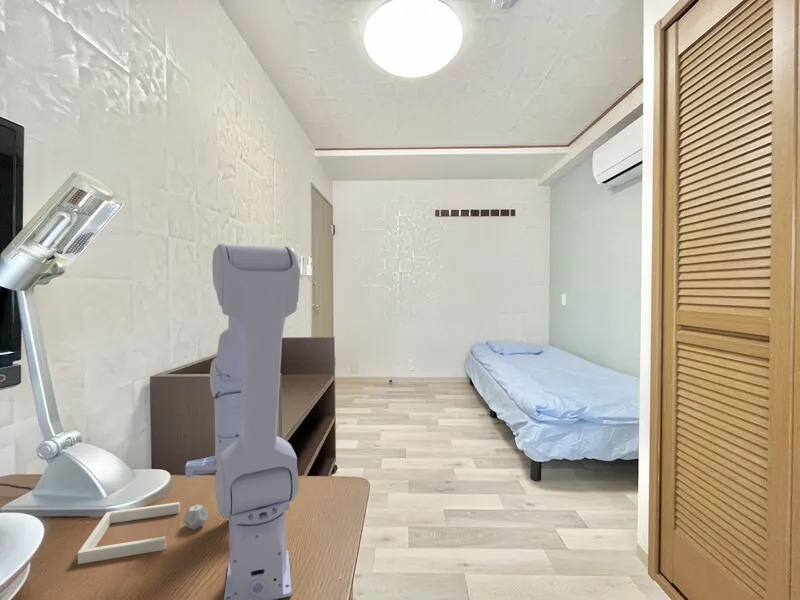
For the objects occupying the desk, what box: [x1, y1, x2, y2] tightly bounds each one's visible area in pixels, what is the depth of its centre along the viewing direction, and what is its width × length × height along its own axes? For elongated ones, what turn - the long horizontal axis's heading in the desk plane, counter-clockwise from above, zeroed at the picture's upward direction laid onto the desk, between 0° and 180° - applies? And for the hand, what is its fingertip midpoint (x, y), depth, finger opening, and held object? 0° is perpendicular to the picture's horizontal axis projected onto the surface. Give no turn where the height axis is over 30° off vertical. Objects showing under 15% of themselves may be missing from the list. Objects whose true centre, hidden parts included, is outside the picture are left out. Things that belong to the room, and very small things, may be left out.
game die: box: [183, 504, 209, 531], centre depth 71 cm, size 4×4×3 cm
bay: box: [77, 501, 181, 565], centre depth 68 cm, size 12×11×2 cm
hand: (235, 512), depth 73 cm, fingers closed
